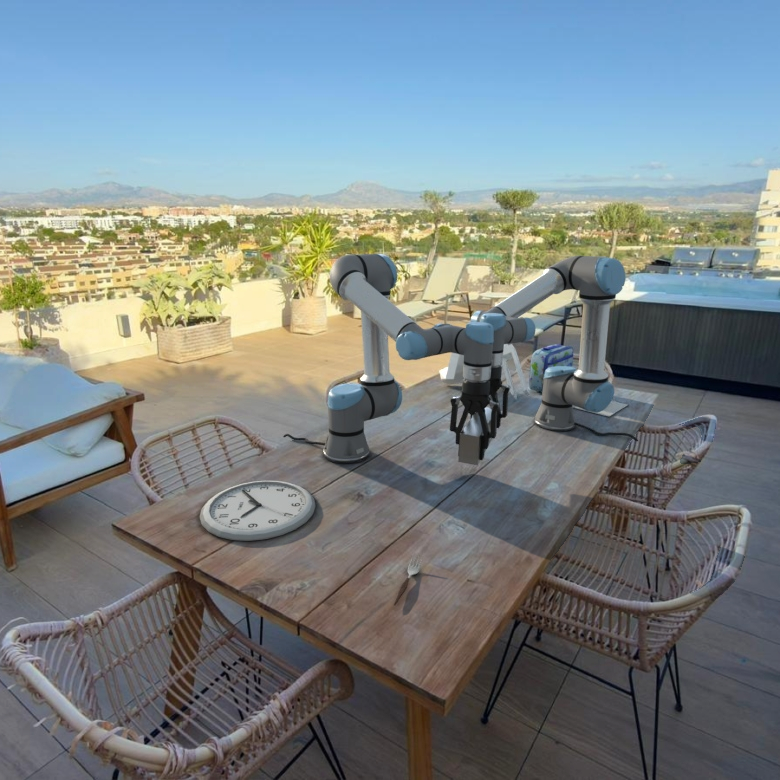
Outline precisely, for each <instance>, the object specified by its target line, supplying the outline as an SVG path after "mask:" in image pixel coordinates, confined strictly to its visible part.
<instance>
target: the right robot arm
mask: <svg viewBox="0 0 780 780" xmlns="http://www.w3.org/2000/svg"><path fill="white" fill-rule="evenodd" d="M625 283H626V269H625V267H624V265H623V263H622V262H621V261H620V260H619V259H617V258H614V257H608V256H593V255H592V256H590V255H573V256H569V257H567V258H564V259H561V260H560V261H557V262H556V263H554V264H552V265H551V266H549V267H547V268H546V269H545V270H543V271H542V273H541V275H540V276H539V277H537V278H536V279H534V280H533V281H531V282H530V283H528V284H527V285H525V286H524V287H522V288H520V289H519V290H517V291H516V292H515V293H513V294H511V295H510V296H508V297H506V298H505V299H504V300H502V301H500V302H499V303H497V304H496V305H495V306H493V307H491V308H489V309H488V310H477V311H475V312H474V313H473V314H471V315H472V316H471V317H470V320H469V323H470V322H485V323H489V324H491V325H492V326H493V328H494V343H493V350H492V359H491V378H490V379H489V381H490V390H489V396H490V399H491V401H493V402H499V397H498V391H499V390H500V389H501V392H502V409H501V406H500V405H499V407H498V410H497V429H500V427H501V422H502V419H506V418H507V416H508V409H509V393H510V386H509V385H508V384H507V385H506V384H503V381H502V372H503V371H502V370H503V367H502V361H503V349H504V344H508V345H510V344H517V343H524V342H528V341H531V340H532V339H533V338H534V337H535V335H536V329H537V328H536V323H535V322H534V320H533V319H532V318H530V317H528V316H527V317H523V315H524V314H526V313H527V312H529V311H531V310H532V309H533V308H534V307H536V306H537V305H539V304H541V303H542V302H544V301H545V300H546V299H549V298H550V297H551V296H553V295H559V294H561V293H562V292H564V291H569V290H575V291H579V292H578V299H579V300H580V301H581V302H582V313H581V314H582V315H581V329H580V330H581V331H580V343H579V344H580V345H579V355H578V356H579V357H578V368H577V367H574V366H572V367H570V366H555V367H549V368H547V369H546V370H545V375H544V378H543V379H544V380H543V391H542V392H541V402H540V405H539V407H538V410H537V411H536V413H535V417H534V424H535V425H536V426H537V427H539V428H542V429H544V430H549V431H556V432H567V431H572V430H574V429H575V428H576V426H577V427H579V428H582V429H584V430H587V431H590V432H592V433H593V434H595V435H597V436H600V437H601V436H602V437H603V436H604V437H605V436H624V437H625V436H626V437H629V438H631V439H633V440H634V441H635V442H639V439H638V438H637V437H636V436H635V435H633V434H631V433H627V432H612V431H611V432H608V431H607V432H599V431H596V430H595V429H594V428H591V427H589V426H586V425H584V424H581V423H577V422H576V418H575V417H576V416H575V413H574V407H579V408H582V409H585V410H586V411H585V412H588V411H592V412H601V411H603V410H604V409H605V408H606V407H607V406H608V405H609V404H610V402H611V401H613V398H614V396H615V387H614V385H613V383H611V382H610V381H609V373H608V372H607V371H606V370H605V368H606V367H605V365H606V355H607V344H608V343H607V342H608V333H609V332H608V331H609V320H610V311H611V303H612V302H613V301H615V300H616V298H617V297H616V296H617V295H618V294H620V293H621V292H622V291H623V287H624V286H625V285H626V284H625ZM499 403H500V402H499ZM573 406H574V407H573ZM592 412H591V413H592ZM475 413H476V412H474V411H472V412H469V413H468V415H470V418H469V420H470V419H471V418H472V417H473V415H474V414H475ZM496 436H497V434H496V435H495V437H494V438H493V439H496Z"/></svg>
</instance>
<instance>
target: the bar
mask: <svg viewBox="0 0 780 780" xmlns="http://www.w3.org/2000/svg"><path fill="white" fill-rule="evenodd" d="M491 412H492V410H491V409H490V407H488V406H487V407H486V408H485V414H486V419H487V423H488V428H489V432H491ZM482 437H483V431H482V426H481V422H480V417H479V415H478V413H476V412H475V414H474V415H473V417H472V418H471V419H470V418H469V421H468V422H467V423H466V425H464V427H463V429H462V431H461V433H460V443H459V444H458V449H459V456H458V463H463V464H469V465H473V466H478V465H479V464H480V462H481V460H480V448H481V438H482ZM493 439H494V438H489V445H490V444H491V442H492V441H493ZM486 451H487V449H485V452H486Z"/></svg>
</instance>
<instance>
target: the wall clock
mask: <svg viewBox="0 0 780 780" xmlns="http://www.w3.org/2000/svg"><path fill="white" fill-rule="evenodd" d="M315 501H316V500H315V498H314V496H313V495H312V493H310V492H309V491H308V490H307V489H305V488H303V487H302V486H300V485H297V484H294V483H291V482H288V481H287V482H286V481H281V480H256V481H249V482H243V483H240V484H236V485H234V486H231V487H228V488H226V489H224V490H221V491H220V492H218V493H216V494H215V495H214V496H212V497H211V498H210V499H208V500H207V501H206V502H205V504H204V505H203V507H201V509H200V514H199V521H200V523H201V526H202V527H203V528H204V529H205V530H206V531H207V532H208V533H209V534H211V535H213V536H216V537H217V538H220V539H221V538H222V539H227V540H230V541H241V542H243V541H244V542H246V541H247V542H251V541H252V542H253V541H261V540H268V539H272V538H277V537H279V536H283V535H286V534H288V533H290V532H293V531H295V530H297V529H298V528H300V527H301V526H303V525H305V524H306V523H307V522H308V521H309V520H310V519H311V518H312V516H313V515H314V513H315V510H316V502H315Z"/></svg>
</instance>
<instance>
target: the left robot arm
mask: <svg viewBox="0 0 780 780" xmlns="http://www.w3.org/2000/svg"><path fill="white" fill-rule="evenodd" d="M329 282H330V285H331V287H332V289H333V290H334V292H335V293H336V294H337V295H338V296H339V297H340V298H341V299H342V300H343V301H346V302H350V303H352V304H353V305H354V306H355V307H356V308H357V309H358V310H360V323H361V340H362V341H361V342H362V356H363V357H362V359H363V374H362V376H360V379H359V380H360V383H357V382H349V383H347V382H345V383H341V384H337V385H335V386H333V387H332V388H331V389H330V390H329V392H328V396H327V418H328V421H327V422H328V433H327V437H326V439H325V442H321V441H312V440H309V439H308V438H306V437H295V436H293V435H292V434H289V433H285V434H283V436H282V437H283V438H286V437H288V438H290V439H291V440H294V441H305V442H306V443H307V444H311V445H317V446H318V445H319V446H323V457H324V459H326V460H327V461H329V462H332V463H336V464H343V465H345V464H356V463H359V462H362V461H364V460H366V459H367V458H368V457H369V456H370V446H369V444H368V441H367V438H366V434H365V422H367V421H371V420H374V419H377V418H378V419H379V418H381V417H387V416H389V415H391V414H394V413H395V412H397V411H398V409H399V408H400V407H401V405H402V402H403V391H402V388H401V387H400V384H399V382H397V380H395V376H394V375H393V374H392V373H391V372H390V353H389V352H390V350H389V338H391V339H392V340H393V341H394V342H395V350H396V351H397V354H398V356H399V357H400V358H401V359H402V360H404V361H418V360H421V359H424V358H425V359H426V358H429V357H433V356H439V355H444V354H451V353H456V354H460V355H464V366H463V377H464V379H463V382H462V383H461V384H462V385H461V394H460V396H455V395H454V396H452V397H451V398H450V401H449V402H450V404H451V411H450V412H451V413H450V423H449V431H450V432H453V433H454V434H455V444H456V445H459V443H460V433H461V432H462V430H463V429H464V427H465V423H466V420H467V419H468V415H469V412H472V411H474V412H475V413H478V415H479V417H480V422H481V426H482V431H483V437H482V438H481V448H480V461H483V460H484V459H485V453H486V451H485V449H486V450H488V448H489V446H490V444H489V438H493V439H494V437H495V435H496V436H497V432H498V431H497V429H498V428H497V410H498V407H499V406H500V402H493V401H492V398H491V396H490V395H489V390H490V381H489V379H490V378H491V359H492V350H493V343H494V328H493V326H492V325H491V324H489V323H485V322H470V321H469V322H467V323H466V325H465V327H463V326H458V325H453V324H451V323H441V322H440V323H435V325H434V326H432V327H431V328H422V327H421V326H420V325H419V324H418V323H417V322H415V321H414V320H413V319H411V318H410V316H408V315H407V314H406V313H405V312H403V311H402V310H401V309H400V308H399V307H398V306H397V305H395V304H394V303H393V302H391V301H390V300H389V299H390V298H391V296H392V295H391V294H392V293H391V292H392V291H391V290H392V289H393V288H395V286H396V283H397V282H398V270H397V267H396V264H395V263H394V260H392V259H391V257H390V256H388V255H386V254H383V253H381V254H380V253H360V254H359V253H358V254H357V253H356V254H352V253H351V254H345V255H341V256H340V257H337V259H336V260H335V261H334V262H333V263H332V265H331V268H330V270H329ZM460 402H461V404H462V406H463V407H464V409H463V411H462V413H461V416H460V420H459V422H458V411H459V404H460ZM488 406H489V408H490V409H491V410H492V412H491V432H489V428H488V423H487V419H486V414H485V408H486V407H488ZM457 422H458V425H457ZM495 438H496V437H495ZM457 457H459V448H458V450H457Z"/></svg>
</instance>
